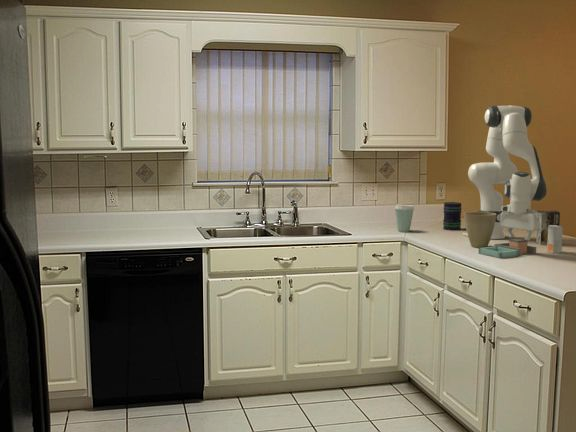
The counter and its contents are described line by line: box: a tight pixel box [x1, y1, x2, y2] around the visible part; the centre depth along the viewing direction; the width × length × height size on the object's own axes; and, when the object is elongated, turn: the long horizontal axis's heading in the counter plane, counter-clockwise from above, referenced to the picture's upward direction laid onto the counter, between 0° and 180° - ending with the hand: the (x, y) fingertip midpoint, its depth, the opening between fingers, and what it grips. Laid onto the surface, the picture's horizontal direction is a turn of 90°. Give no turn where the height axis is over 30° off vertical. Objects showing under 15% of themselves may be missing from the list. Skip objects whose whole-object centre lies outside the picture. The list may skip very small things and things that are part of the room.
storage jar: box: [442, 201, 462, 232], centre depth 378 cm, size 10×10×15 cm
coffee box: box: [535, 210, 561, 246], centre depth 327 cm, size 9×6×16 cm
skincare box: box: [546, 225, 564, 254], centre depth 304 cm, size 6×4×12 cm
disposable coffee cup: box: [394, 203, 415, 233], centre depth 370 cm, size 11×11×15 cm
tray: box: [478, 246, 519, 259], centre depth 297 cm, size 13×11×2 cm
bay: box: [493, 242, 537, 257], centre depth 304 cm, size 15×11×3 cm
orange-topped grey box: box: [508, 237, 529, 255], centre depth 302 cm, size 5×6×6 cm
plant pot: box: [463, 211, 496, 249], centre depth 318 cm, size 15×15×16 cm
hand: (519, 239), depth 301 cm, fingers open, 8 cm apart
